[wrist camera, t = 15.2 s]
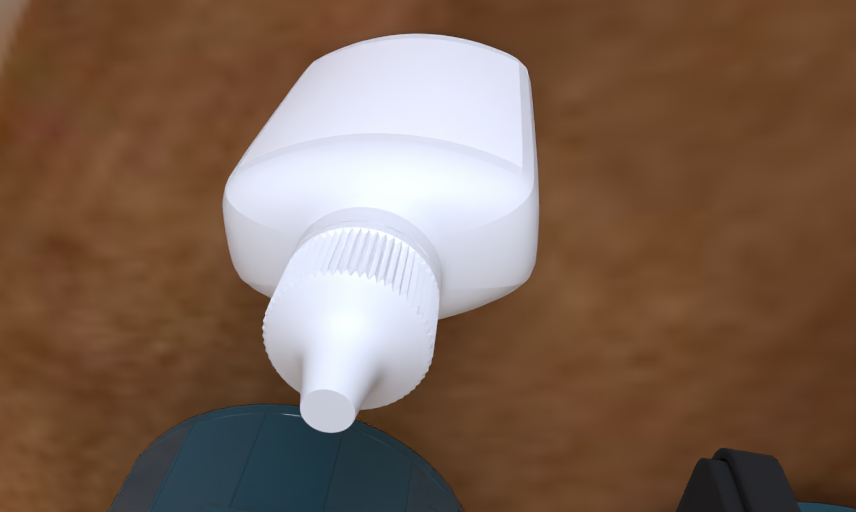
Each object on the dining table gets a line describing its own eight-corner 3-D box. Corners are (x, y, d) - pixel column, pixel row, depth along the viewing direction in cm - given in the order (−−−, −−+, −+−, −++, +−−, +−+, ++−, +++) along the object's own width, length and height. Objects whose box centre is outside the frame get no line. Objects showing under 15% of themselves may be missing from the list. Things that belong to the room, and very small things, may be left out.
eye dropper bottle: (353, -35, 19) (167, 167, 9) (559, 76, 20) (618, 383, 9) (284, 120, 21) (68, 435, 11) (474, 215, 22) (446, 591, 11)
